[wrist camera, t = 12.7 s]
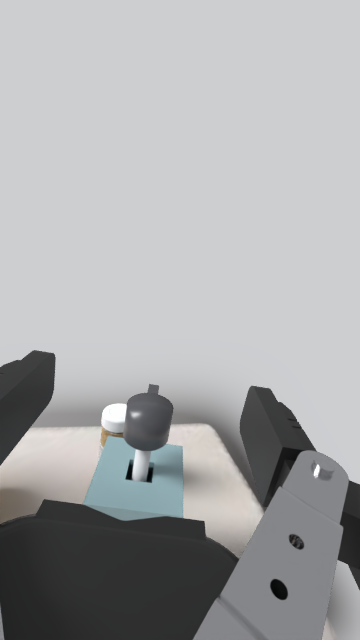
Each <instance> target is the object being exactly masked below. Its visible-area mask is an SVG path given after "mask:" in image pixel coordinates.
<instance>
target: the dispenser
mask: <svg viewBox="0 0 360 640" xmlns="http://www.w3.org/2000/svg"><path fill="white" fill-rule="evenodd" d="M135 452H136V449H135V448H133V447H131V446H130V445H128V444H127V443H126V441H125V440H124V438H119V437H112V436H108V437H107V440H106V443H105V446H104V448H103V451H102V454H101V456H100V459H99V462H98V465H97V467H96V470H95V473H94V476H93V478H92V481H91V484H90V486H89V489H88V492H87V495H86V497H85V500H84V503H83V505H86V506H88V507H91V508H93V509H95V510H98V511H100V512H103V513H105V514H107V515H110V516H112V517H115V518H117V519H119V520H124V521H128V520H136V519H145V518H153V517H161V516H170V517H177V518H183V446H177V445H170V444H165V445H164V446H163V447H162V448H160V449H158V450H154V451H151V456H150V462H149V468H148V474H147V480H146V482H140V481H133V480H131V479H132V473H133V466H134V459H135Z"/></svg>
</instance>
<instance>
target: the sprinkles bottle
mask: <svg viewBox="0 0 360 640" xmlns="http://www.w3.org/2000/svg"><path fill="white" fill-rule="evenodd" d="M126 408H127V405H125V404H112V405H109V406H108V407H106V408H105V409H104V410H103V414H102V421H101V423H102V434H101V440H100V449H99V459H100V456H101V454H102V451H103V448H104V446H105V443H106V440H107V437H108V436H112V437H119V438H124V437H123V432H124V424H125V416H126ZM99 459H98V462H99Z"/></svg>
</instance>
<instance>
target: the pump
mask: <svg viewBox="0 0 360 640" xmlns="http://www.w3.org/2000/svg"><path fill="white" fill-rule="evenodd" d="M158 390H159V386H158V385H151V384H149V389H148V393H141V394H137V395H134V396H132V397H131V398H130V399H129V400H128V402H127V408H126V416H125V424H124V432H123V437H124V440H125V441H126V443H127V444H128V445H130V446H131V447H133V448H135V449H136V452H135V459H134V466H133V473H132V479H131V480H133V481H140V482H146V480H147V474H148V468H149V462H150V456H151V451H154V450H158V449H160V448H162V447H163V446H164V445H165V444H166V443H167V441H168V436H169V430H170V425H171V419H172V413H173V405H172V403H171V402H170V401H169V400H168V399H166V398H165V397H163V396H160V395H158Z"/></svg>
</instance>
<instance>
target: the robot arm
mask: <svg viewBox="0 0 360 640" xmlns="http://www.w3.org/2000/svg"><path fill="white" fill-rule="evenodd" d="M54 376H55V355H54V353H48V352H42V351H36V350H34V351H32V352H31V353H29V354H28V355H27V356H26V357H24V358H23V359H22V360H16V361H13V362H10V363H8V364H5V365H3V366H2V367H0V465H1V464H2V463H3V461H4V460H5V459H6V458H7V456H8V455H9V454H10V453H11V451H12V450H13V449H14V447H15V446H16V445H17V444H18V442H19V441H20V440H21V438H22V437H23V436H24V435H25V433H26V432H27V431H28V430H29V428H30V427H31V426H32V424H33V423H34V422H35V420H36V419H37V418H38V417H39V415H40V414H41V413H42V412H43V410H44V409H45V408H46V406H47V405H48V404H49V402H50V400H51V398H52V395H53V390H54ZM240 434H241V437H242V440H243V444H244V447H245V450H246V454H247V457H248V460H249V464H250V467H251V470H252V474H253V477H254V480H255V484H256V487H257V490H258V494H259V497H260V500H261V504H262V506H263V507H268V508H267V510H266V511H265V513H264V515H263V517H262V519H261V521H260V523H259V524H258V526H257V528H256V530H255V532H254V534H253V535H252V537H251V539H250V541H249V543H248V545H247V547H246V548H245V550H244V552H243V554H242V556H241V558H240V559H238V558H237V557H236V556H235V555H234V554H233V553H232V552H230V551H229V550H228V549H227V548H225V547H224V546H222V545H221V544H219V543H218V542H216V541H214V540H212V539H210V538H208V537H206V534H205V522H204V521H199V520H192V519H184V518H177V517H170V516H161V517H153V518H145V519H136V520H128V521H124V520H119V519H117V518H115V517H112V516H110V515H107V514H105V513H103V512H100V511H98V510H95V509H93V508H91V507H88V506H86V505H82V504H74V503H67V502H60V501H52V500H45V499H44V500H43V502H42V504H41V506H40V508H39V510H38V512H37V514H33V515H27V516H23V517H19V518H16V519H13V520H9V521H7V522H4V523H2V524H0V640H322V635H323V630H324V625H325V619H326V614H327V609H328V604H329V598H330V594H331V589H332V584H333V579H334V574H335V569H336V564H337V560H339V561H342V562H344V563H346V564H348V565H349V568H350V570H351V572H352V575H353V576H354V579H355V581H356V583H357V585H358V587H359V590H360V484H357V483H354V482H352V481H349V479H348V475H347V473H346V472H345V470H344V469H343V468H342V467H341V466H340V465H339V464H338V463H337V462H336V461H334V460H333V459H331V458H330V457H328V456H326V455H324V454H322V453H319V452H317V451H316V449H315V448H314V446H313V445H312V443H311V441H310V440H309V438H308V437H307V435H306V434H305V432H304V430H303V429H302V427H301V426H300V424H299V422H297V419H296V418H295V416H294V415H293V413H292V412H291V410H290V409H288V408H287V407H286V406H285V405H284V404H283V403H281V402H278V401H277V400H276V398H275V396H274V394H273V393H272V391H271V389H269V388H263V387H257V386H251V387H250V388H249V391H248V394H247V398H246V401H245V405H244V408H243V412H242V415H241V420H240Z"/></svg>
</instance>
